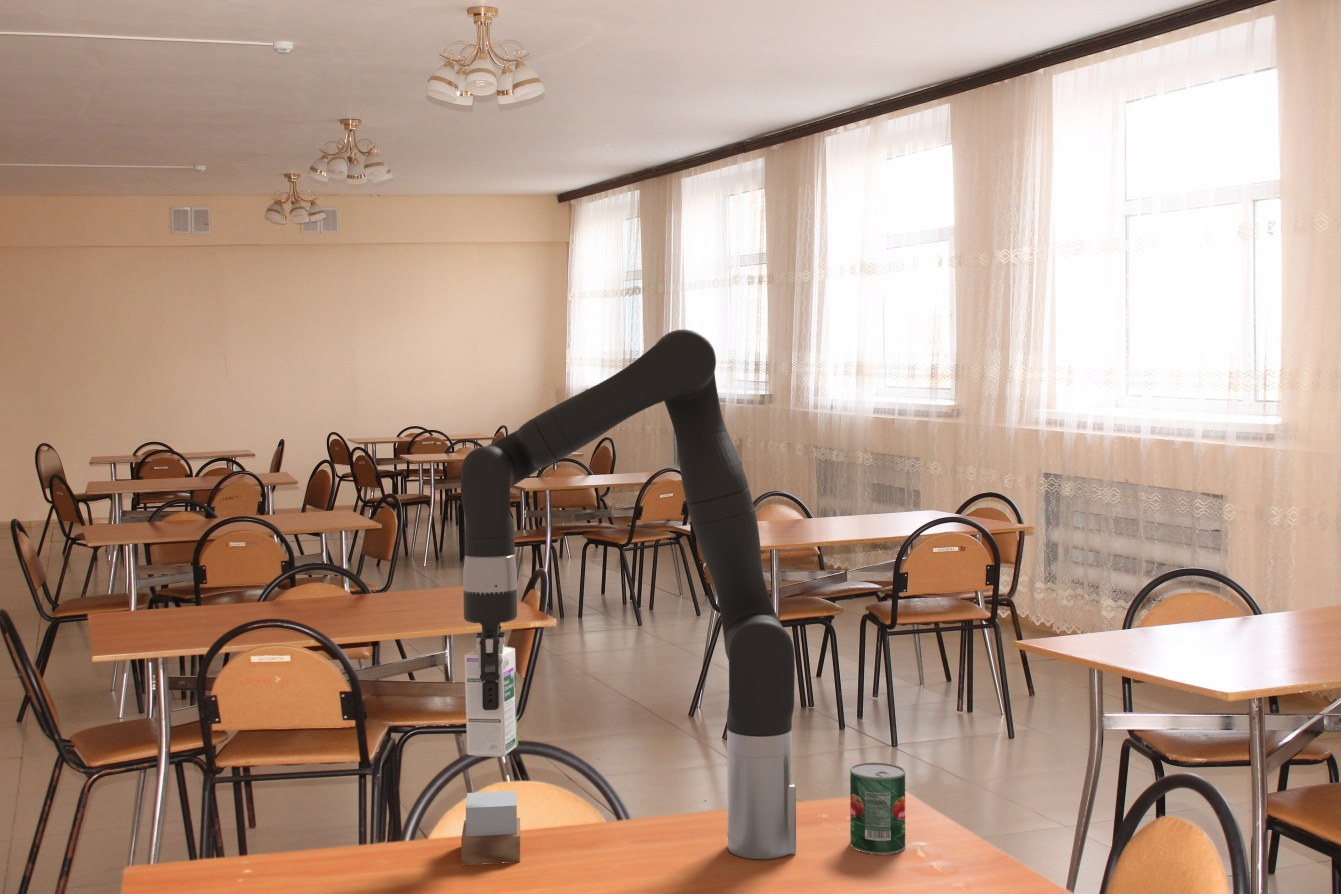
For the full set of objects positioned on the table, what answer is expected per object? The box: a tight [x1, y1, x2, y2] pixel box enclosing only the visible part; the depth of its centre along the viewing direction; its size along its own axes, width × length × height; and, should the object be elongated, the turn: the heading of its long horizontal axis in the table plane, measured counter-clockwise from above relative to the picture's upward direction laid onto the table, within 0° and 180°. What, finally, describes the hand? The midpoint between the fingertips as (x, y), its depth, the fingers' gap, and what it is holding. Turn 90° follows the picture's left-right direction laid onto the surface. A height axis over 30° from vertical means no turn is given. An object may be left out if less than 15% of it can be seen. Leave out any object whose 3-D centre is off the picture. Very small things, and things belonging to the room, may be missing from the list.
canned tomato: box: [849, 761, 906, 856], centre depth 171 cm, size 8×8×11 cm
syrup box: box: [464, 646, 519, 758], centre depth 169 cm, size 6×6×14 cm
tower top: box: [465, 790, 518, 837], centre depth 169 cm, size 7×7×4 cm
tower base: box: [460, 817, 521, 865], centre depth 169 cm, size 8×8×4 cm
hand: (491, 703), depth 169 cm, fingers closed on syrup box, 6 cm apart
